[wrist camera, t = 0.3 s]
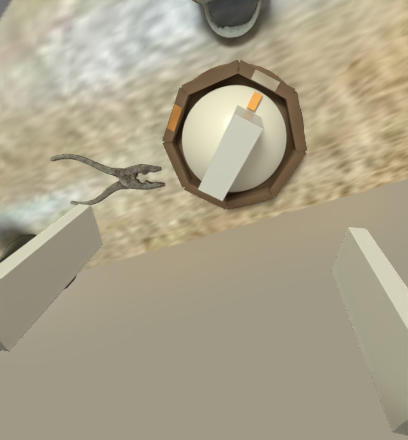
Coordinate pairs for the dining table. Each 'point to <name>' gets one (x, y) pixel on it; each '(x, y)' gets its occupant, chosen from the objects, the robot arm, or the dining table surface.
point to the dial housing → (255, 79)
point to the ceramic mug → (228, 31)
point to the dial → (233, 139)
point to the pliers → (125, 176)
